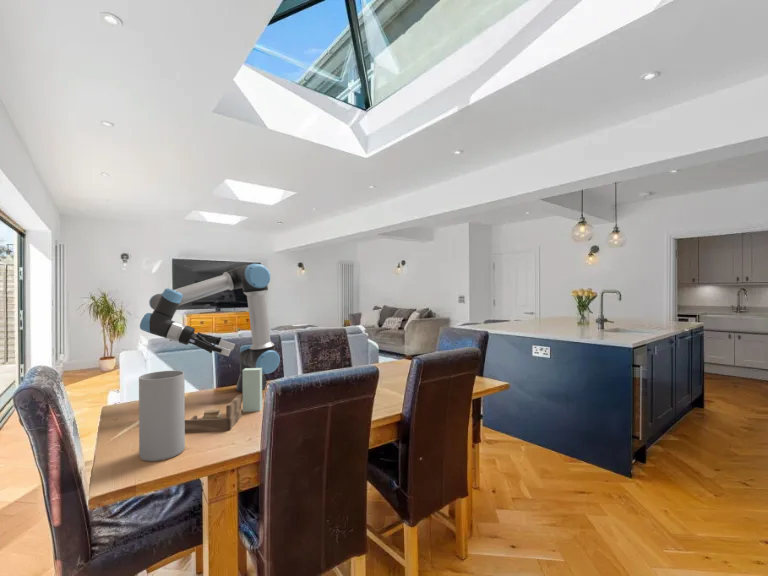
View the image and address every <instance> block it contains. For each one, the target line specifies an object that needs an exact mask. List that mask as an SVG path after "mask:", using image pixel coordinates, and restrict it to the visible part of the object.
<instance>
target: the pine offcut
mask: <svg viewBox="0 0 768 576" xmlns="http://www.w3.org/2000/svg"><path fill="white" fill-rule="evenodd" d="M220 411H221V409H220V408H213V409H211V408H210V409H204V412H203V416H204V417H216V416H218V415H219V414H220Z"/></svg>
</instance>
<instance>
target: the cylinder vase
mask: <svg viewBox="0 0 768 576" xmlns="http://www.w3.org/2000/svg"><path fill="white" fill-rule="evenodd" d="M185 392H186V390H185V371H184V370H183V371H182V370H162V371H154V372H149V373H144V374H142V375H140V376H138V430H139V431H138V432H139V433H138V439H139V440H138V441H139V442H138V443H139V445H138V450H139V452H138V455H139V458H140V459H141V460H142V461H146V462H158V461H165V460H168V459H172V458H174V457H176V456H179V455H180V454H181V453H182V452H183V451H184V450H185V447H186V437H185V436H186V432H185V420H186V419H185V418H186V417H185V415H186V413H185V410H186V409H185V408H186V407H185V406H186V405H185V403H186V401H185V398H186V397H185V394H186V393H185Z"/></svg>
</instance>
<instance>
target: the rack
mask: <svg viewBox="0 0 768 576" xmlns="http://www.w3.org/2000/svg"><path fill="white" fill-rule="evenodd" d="M225 410H226V412H225V414H226V415H225V416H226V417H222V418H221V419H202V417H200V418H198V415H194V416H192V417H191V418H189V419H185V433H189V432H190V433H195V432H198V433H199V432H222V431H223V432H224V431H226V432H228V431H231V430H232V429H233V427H234V426H235V425H236V424H237V423H238V422H239V420H241V418H242V394H238V395H236V396H235V397H234V398H233V399H232V400H231V401H230V402H229V403H228V404H227V405H226V406H225Z"/></svg>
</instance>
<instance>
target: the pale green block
mask: <svg viewBox="0 0 768 576" xmlns="http://www.w3.org/2000/svg"><path fill="white" fill-rule="evenodd" d="M242 372H243V392H242V412H243V413H244V412H245V413H246V412H261V411H262V409H263V390H262V368H245V369H244V370H242Z"/></svg>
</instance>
